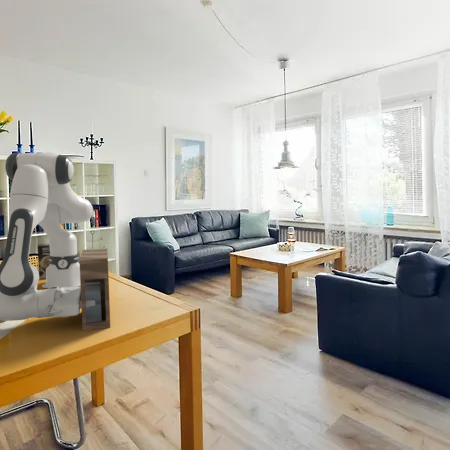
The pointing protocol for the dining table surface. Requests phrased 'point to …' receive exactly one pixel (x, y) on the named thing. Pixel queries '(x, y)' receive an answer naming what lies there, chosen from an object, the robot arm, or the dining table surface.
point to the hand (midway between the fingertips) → (95, 298)
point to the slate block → (95, 293)
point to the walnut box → (95, 272)
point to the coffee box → (43, 259)
